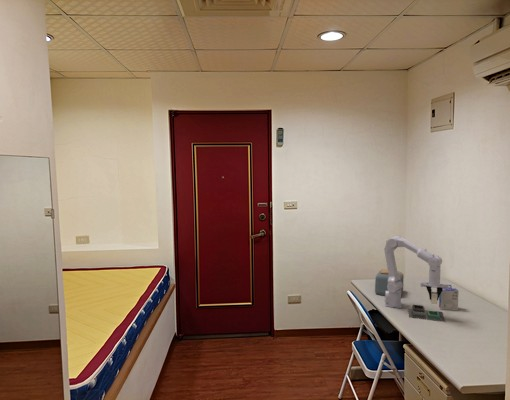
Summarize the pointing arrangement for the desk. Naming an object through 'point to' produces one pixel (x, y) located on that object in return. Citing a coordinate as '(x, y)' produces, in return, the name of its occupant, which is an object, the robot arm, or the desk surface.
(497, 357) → the desk surface
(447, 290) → the ink cartridge box
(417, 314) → the jack panel
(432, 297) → the plug
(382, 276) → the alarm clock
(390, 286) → the robot arm
